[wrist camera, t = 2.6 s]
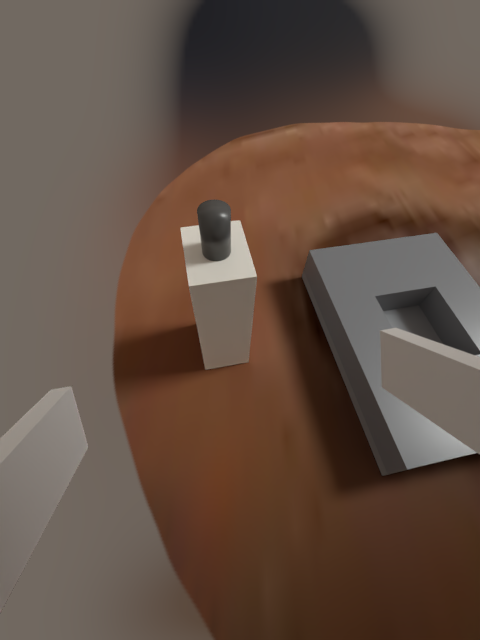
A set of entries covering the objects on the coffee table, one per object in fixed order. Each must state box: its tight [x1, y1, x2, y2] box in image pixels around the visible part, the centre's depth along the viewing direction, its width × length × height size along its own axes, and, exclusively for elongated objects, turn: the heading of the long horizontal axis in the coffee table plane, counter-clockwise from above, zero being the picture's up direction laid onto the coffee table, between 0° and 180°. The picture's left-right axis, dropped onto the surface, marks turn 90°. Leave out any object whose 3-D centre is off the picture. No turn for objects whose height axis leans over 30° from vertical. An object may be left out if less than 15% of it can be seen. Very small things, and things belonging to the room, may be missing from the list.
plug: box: [181, 200, 257, 370], centre depth 23 cm, size 4×5×15 cm
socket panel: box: [302, 233, 480, 476], centre depth 28 cm, size 14×20×4 cm
